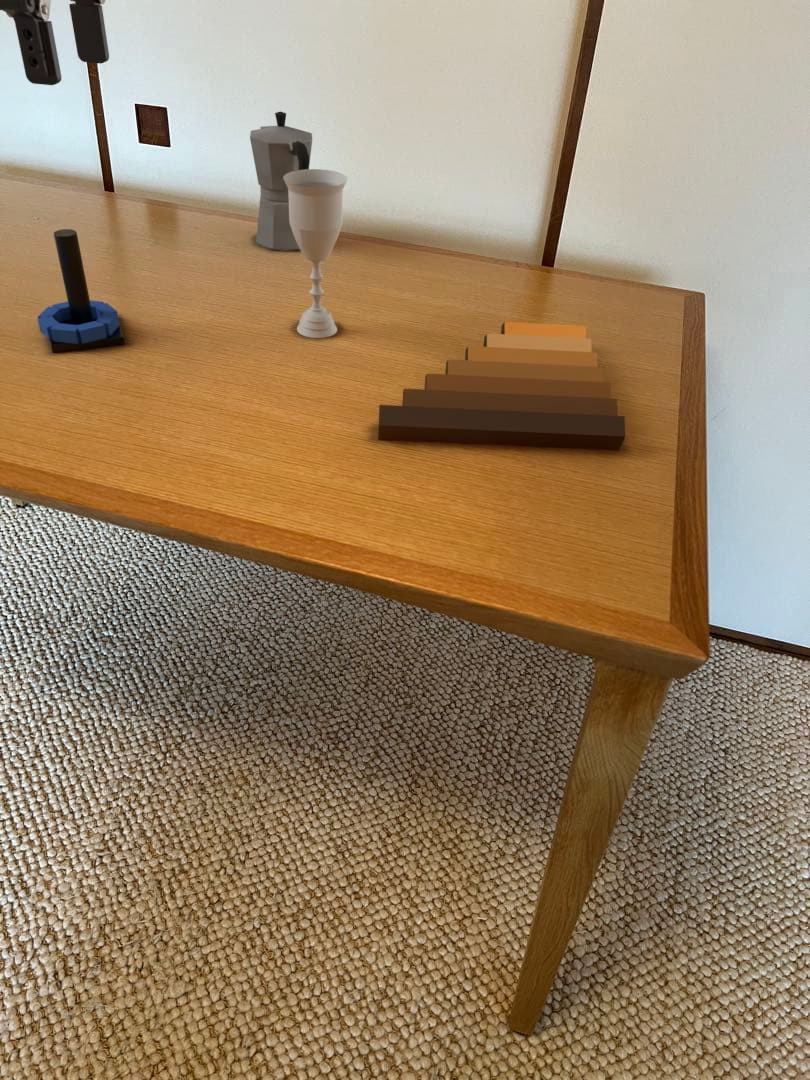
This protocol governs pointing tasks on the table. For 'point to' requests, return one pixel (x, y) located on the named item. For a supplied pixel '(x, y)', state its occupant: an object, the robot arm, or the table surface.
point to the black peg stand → (77, 293)
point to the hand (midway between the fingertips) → (71, 72)
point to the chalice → (316, 234)
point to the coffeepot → (277, 179)
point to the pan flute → (514, 395)
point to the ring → (76, 333)
